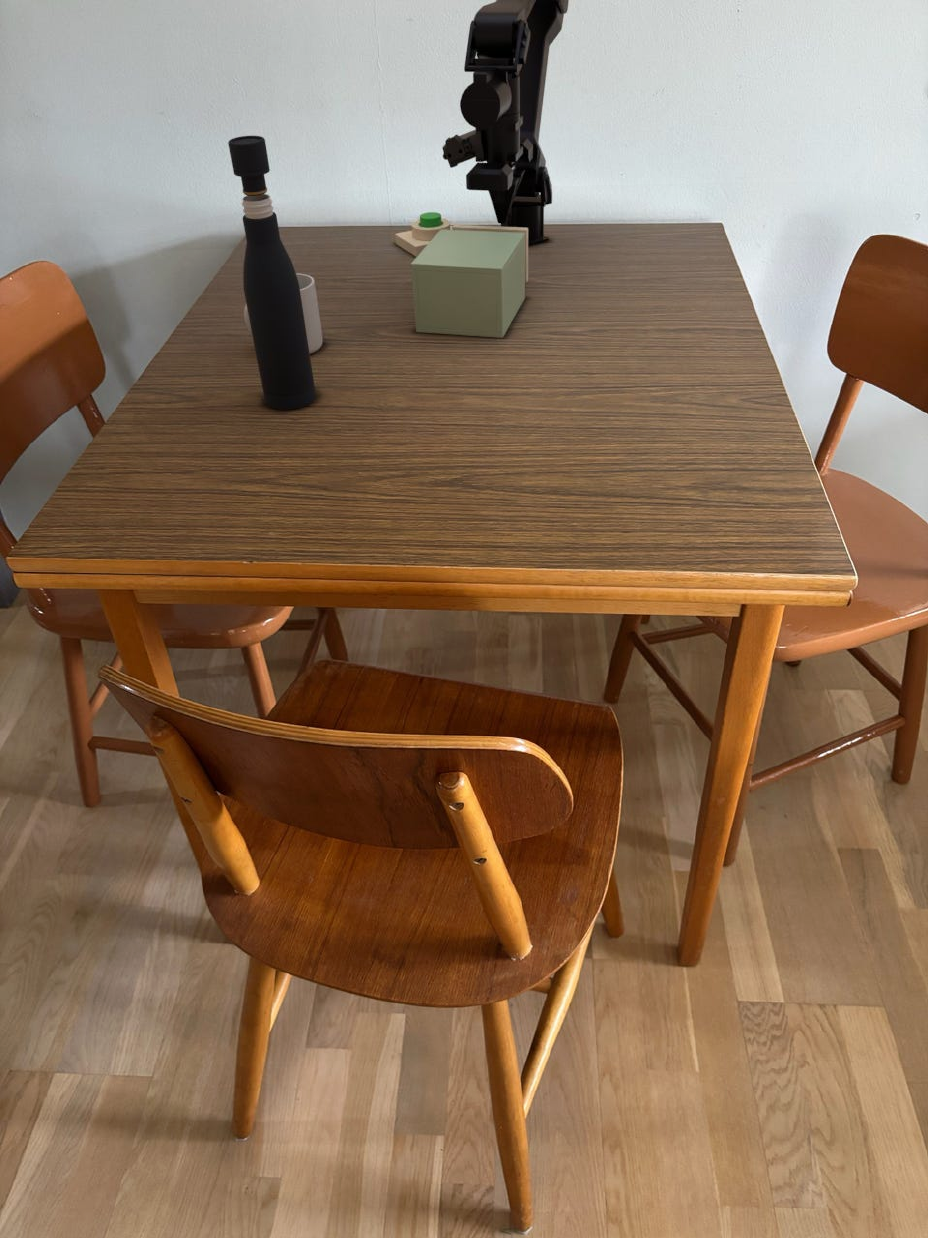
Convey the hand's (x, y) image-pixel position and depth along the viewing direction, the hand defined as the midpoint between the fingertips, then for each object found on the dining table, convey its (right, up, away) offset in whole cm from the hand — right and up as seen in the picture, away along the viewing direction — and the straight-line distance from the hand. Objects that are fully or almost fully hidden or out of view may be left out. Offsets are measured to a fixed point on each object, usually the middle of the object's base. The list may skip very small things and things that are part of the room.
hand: (501, 222), depth 149 cm
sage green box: (-5, -18, -10) cm, 21 cm away
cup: (-30, -24, -16) cm, 42 cm away
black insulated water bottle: (-28, -34, -28) cm, 52 cm away
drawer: (-3, -12, -5) cm, 13 cm away
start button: (-12, +5, +13) cm, 18 cm away
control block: (-11, +2, +15) cm, 19 cm away
